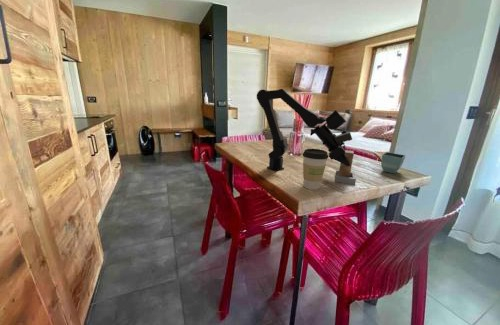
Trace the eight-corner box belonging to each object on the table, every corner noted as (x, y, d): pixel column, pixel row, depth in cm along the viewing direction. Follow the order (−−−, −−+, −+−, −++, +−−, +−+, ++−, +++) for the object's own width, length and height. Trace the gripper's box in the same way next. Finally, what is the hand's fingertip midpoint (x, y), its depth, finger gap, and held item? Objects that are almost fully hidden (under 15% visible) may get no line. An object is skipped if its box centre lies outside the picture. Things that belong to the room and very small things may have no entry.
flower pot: (401, 171, 112) (405, 155, 109) (398, 175, 105) (402, 158, 103) (382, 167, 117) (386, 151, 115) (378, 171, 111) (381, 154, 109)
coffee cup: (320, 193, 83) (325, 155, 78) (295, 187, 88) (299, 151, 83) (326, 185, 91) (331, 150, 86) (303, 180, 96) (307, 147, 91)
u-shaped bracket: (334, 181, 96) (335, 176, 95) (335, 174, 104) (336, 169, 103) (355, 184, 93) (356, 179, 92) (354, 177, 101) (355, 172, 100)
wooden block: (337, 180, 97) (342, 152, 94) (338, 176, 101) (342, 149, 98) (348, 181, 96) (353, 153, 92) (348, 178, 100) (353, 151, 96)
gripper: (342, 127, 85) (368, 158, 84) (342, 122, 101) (364, 148, 100) (318, 144, 90) (343, 174, 89) (322, 137, 106) (343, 162, 106)
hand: (349, 163), depth 96 cm, fingers open, 6 cm apart
